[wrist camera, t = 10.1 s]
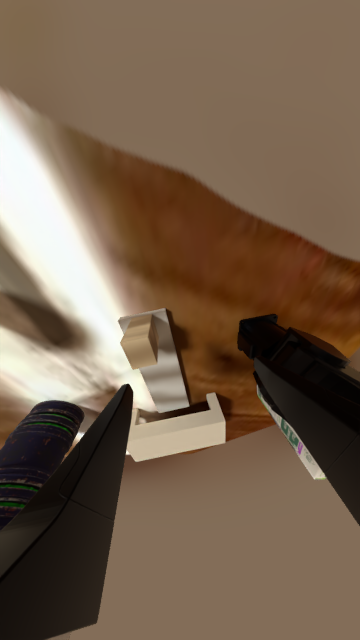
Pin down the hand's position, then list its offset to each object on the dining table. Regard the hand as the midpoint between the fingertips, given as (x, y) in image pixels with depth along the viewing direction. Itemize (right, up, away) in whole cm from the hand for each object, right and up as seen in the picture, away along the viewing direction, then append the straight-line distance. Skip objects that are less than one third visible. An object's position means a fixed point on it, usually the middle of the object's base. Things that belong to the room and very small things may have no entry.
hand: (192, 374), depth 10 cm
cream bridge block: (-2, -19, +24) cm, 30 cm away
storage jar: (-27, -16, +20) cm, 37 cm away
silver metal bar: (-5, -5, +17) cm, 19 cm away
